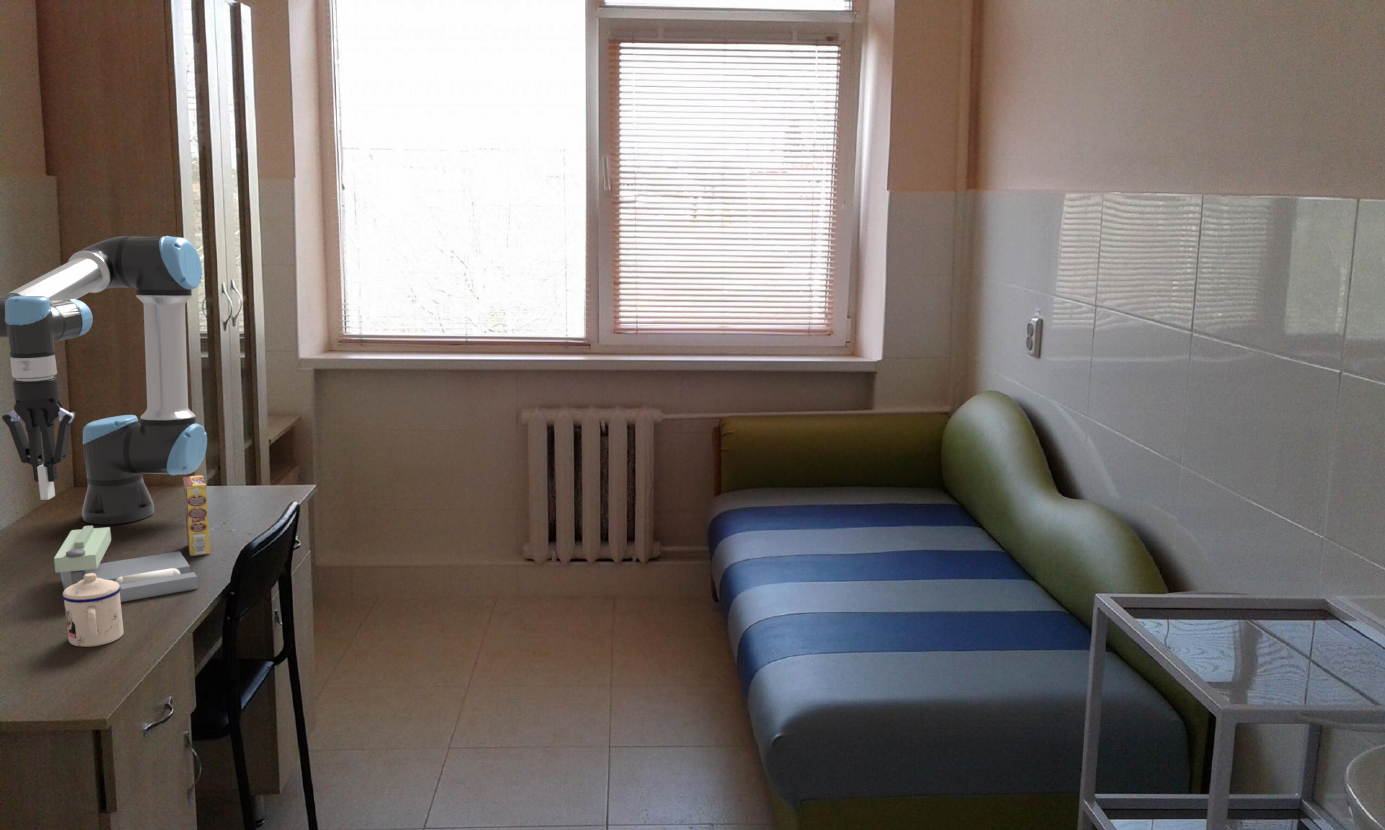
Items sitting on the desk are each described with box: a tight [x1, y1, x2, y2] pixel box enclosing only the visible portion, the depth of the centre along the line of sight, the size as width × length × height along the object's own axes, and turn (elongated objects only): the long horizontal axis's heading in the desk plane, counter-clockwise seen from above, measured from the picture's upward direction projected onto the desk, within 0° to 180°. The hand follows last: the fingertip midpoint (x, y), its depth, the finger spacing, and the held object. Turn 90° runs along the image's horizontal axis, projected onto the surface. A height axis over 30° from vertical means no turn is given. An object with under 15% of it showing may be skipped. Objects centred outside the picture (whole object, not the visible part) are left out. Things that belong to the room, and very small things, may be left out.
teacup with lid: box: [61, 573, 124, 648], centre depth 207 cm, size 12×9×12 cm
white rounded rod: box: [115, 568, 180, 585], centre depth 233 cm, size 3×12×3 cm, turn 123°
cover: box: [53, 525, 112, 574], centre depth 233 cm, size 19×7×4 cm, turn 18°
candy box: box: [182, 475, 211, 557], centre depth 255 cm, size 9×4×15 cm, turn 26°
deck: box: [60, 550, 199, 603], centre depth 234 cm, size 18×22×6 cm
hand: (47, 497), depth 233 cm, fingers closed
